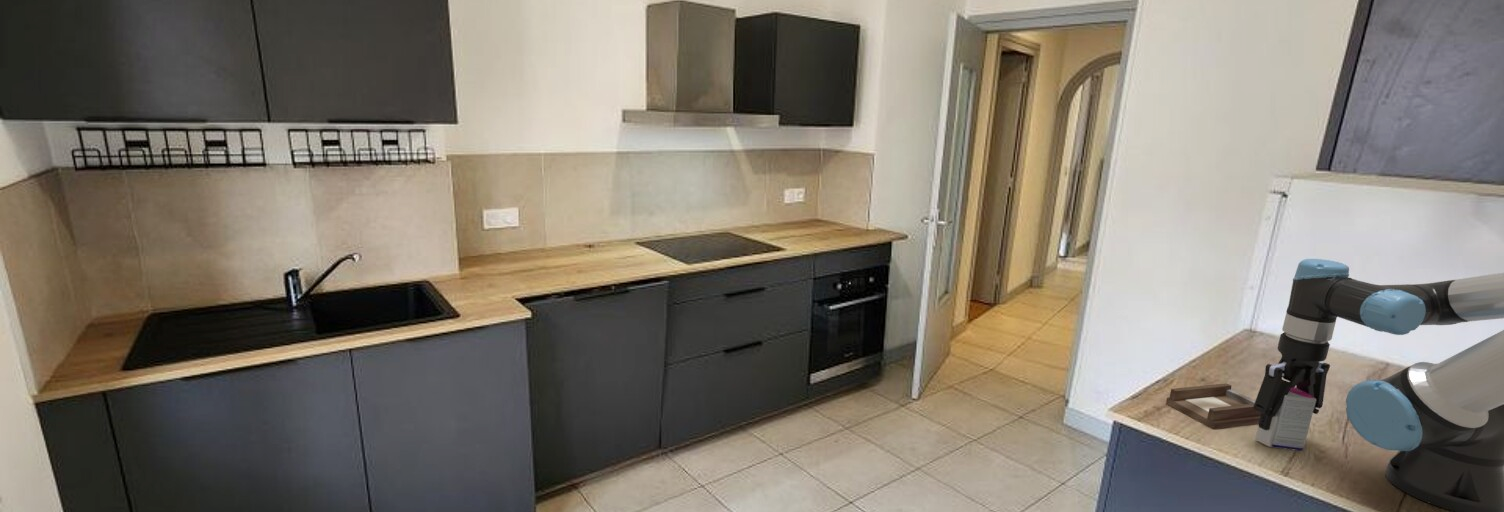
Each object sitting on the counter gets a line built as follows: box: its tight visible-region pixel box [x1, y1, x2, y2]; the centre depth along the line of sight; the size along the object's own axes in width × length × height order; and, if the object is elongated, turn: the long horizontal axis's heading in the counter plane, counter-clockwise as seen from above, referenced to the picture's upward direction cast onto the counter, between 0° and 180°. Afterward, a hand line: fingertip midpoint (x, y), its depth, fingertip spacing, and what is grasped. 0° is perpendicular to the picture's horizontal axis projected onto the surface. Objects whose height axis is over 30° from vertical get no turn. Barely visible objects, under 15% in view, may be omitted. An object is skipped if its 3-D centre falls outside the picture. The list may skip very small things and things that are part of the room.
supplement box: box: [1256, 386, 1316, 451], centre depth 131 cm, size 6×6×12 cm
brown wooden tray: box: [1165, 383, 1261, 430], centre depth 144 cm, size 12×16×4 cm
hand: (1279, 440), depth 132 cm, fingers open, 8 cm apart
